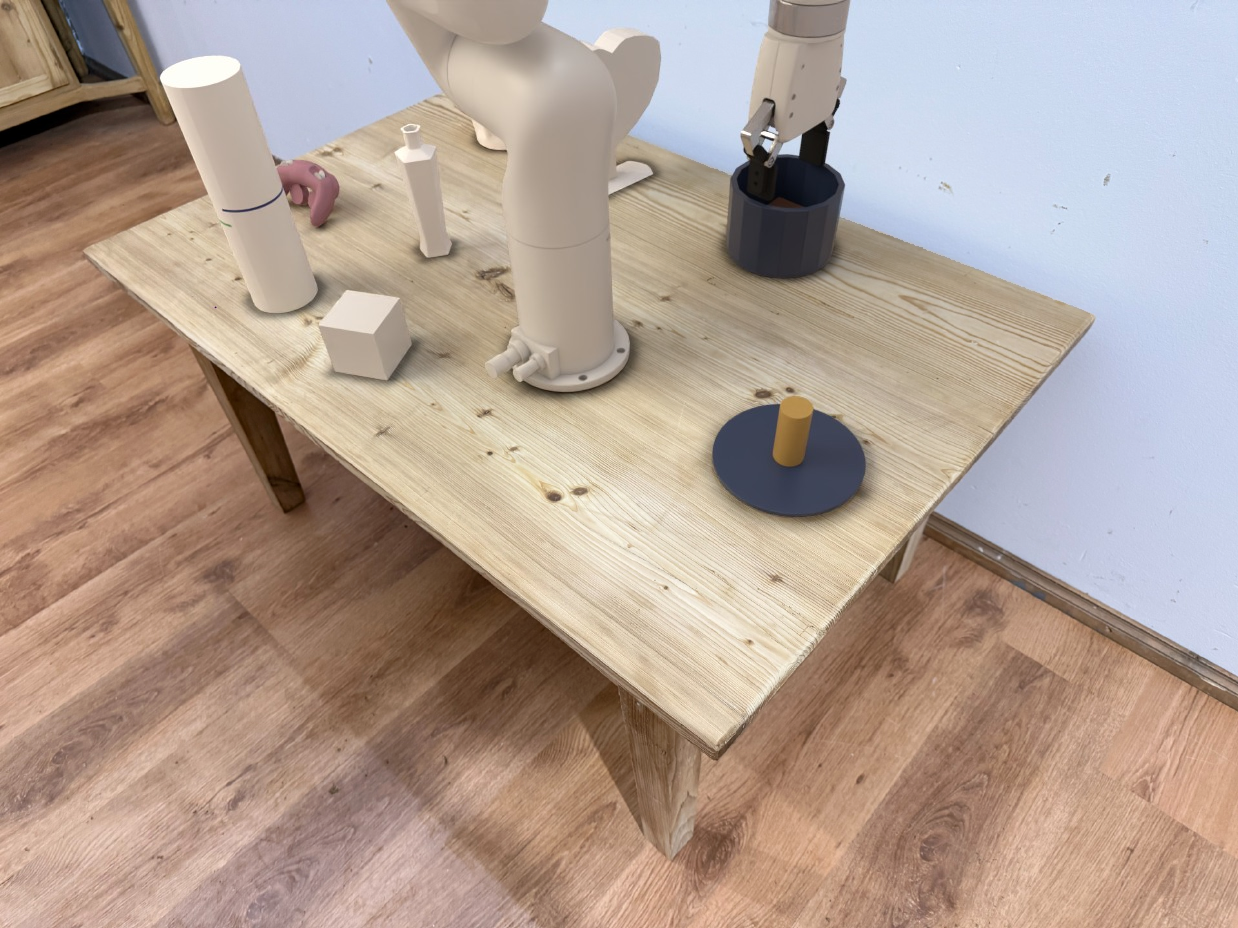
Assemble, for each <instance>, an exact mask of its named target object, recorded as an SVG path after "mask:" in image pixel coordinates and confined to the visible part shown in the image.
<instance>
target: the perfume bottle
mask: <svg viewBox="0 0 1238 928" xmlns="http://www.w3.org/2000/svg"><path fill="white" fill-rule="evenodd" d="M421 127H422V126H421V124H416V123H408V124H406V125H404V126H402V127H400V131H401V132H402V137H403V141H404V146H402V147H400V148H399V149H397V150H396V151H394V156H395V159H396V163H397V165H398V166H397V167H398V170H399V173H400V176H401V179H402V182H403V186H404V188H405V191H406V196H407V199H408V202H409V204H410V208H411V212H412V215H413V218H414V221H415V224H416V228H417V231H418V235H419V237H420V239H419V242H420V243H419V250H420V251H421V253H422V254H423V255H424V256H425V257H426V258H429V259H430V258H436V257H442V256H447V255H449V253H450V251H451V248H452V245H453V243H452V240H451V239H450V237H449V235H448V232H447V225H446V216H445V208H444V202H443V200H444V199H443V192H442V184H441V176H440V175H441V174H440V167H439V161H438V160H439V159H438V152H437V146H435V145H433V144H428V143H425V142H423V137H422V134H421Z"/></svg>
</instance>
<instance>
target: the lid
mask: <svg viewBox="0 0 1238 928" xmlns="http://www.w3.org/2000/svg"><path fill="white" fill-rule="evenodd" d="M711 451H712V452H711V463H712V466H713V470H714V472H715V475H716V477H717V479H718V480H719V482H720V484H721V485H722V487H724V489H725V490H726V491H727V492H728V493H729V494H730V495H731V496H733V497H734V498H735V499H736V500H738V501H739V502H740V503H742V504H744V505H745V506H747V507H750V508H752V509H754V510H756V511H758V512H762V513H765V514H767V515H772V516H776V517H783V518H795V519H796V518H798V519H799V518H812V517H817V516H821V515H824V514H828V513H830V512H832V511H835V510H837V509H839V508H841V507H842V506H844V505H846V504H847V503H848V502H849V501H850V500H851V499H852V498H854V496H856V494H857V493H858V492H859V490H860V488H861V486H862V485H863V482H864V478H865V476H866V471H867V463H866V462H867V461H866V460H867V459H866V456H865V452H864V449H863V446H862V445H861V443H860V441H859V440H858V438H857V436H856V435H855V434H854V433H853V432H852V431H851V430H850V429H849V428H848V427H847V426H846V425H845V424H843V423H842V422H841V421H839V420H838V419H837V418H835V417H833V416H831V415H829V414H827V413H825V412H823V411H820V410H818V409H816V408H814V405H813V403H812V402H811V401H810V400H809V399H808V398H807V397H804V396H800V395H790V396H787V397H785V398H784V399H782V400H781V402H780V403H771V404H764V405H758V406H755V407H752V408H749V409H746V410H744V411H741V412H739V413H738V414H736V415H734V416H733V417H732V418H730V419H728V420H727V422H725V423H724V424H723V425H722V427H721V428H720V429H719V431H718V432H717V433H716V436H715V438H714V441H713V444H712V449H711Z"/></svg>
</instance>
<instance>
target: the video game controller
mask: <svg viewBox="0 0 1238 928" xmlns="http://www.w3.org/2000/svg"><path fill="white" fill-rule="evenodd" d="M276 169H277V172H278V174H279V177H280V180H281V183H282V186H283V189H284V192H285V195H286V197H287V196H288V195H289V193H290V198H291V201H292V203H294V204H296V205H307V204H308V207H309V208H310V213H309V214H310V215H309V221H310V224H311V225H312V226H314V227H320V226H322V225H324V224H325V222H327V220H328V219H329V217H330V216H331V214H332V212H333V209H334V205H335V202H336V200H337V199H338V197H339V195H340V183H339V181H338V179H337V177H336V176H335V175H334V174H333V173H329V172H328V171H327V169H325V168H324V167H322V166H321V165H319V164H317V163H315V162H313V161H311V160H307V159H288V160H286V161H284V160H282V161H280V164H279V165H278V166H276ZM309 189H310V190H312V191H311V192H310V191H309Z"/></svg>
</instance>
